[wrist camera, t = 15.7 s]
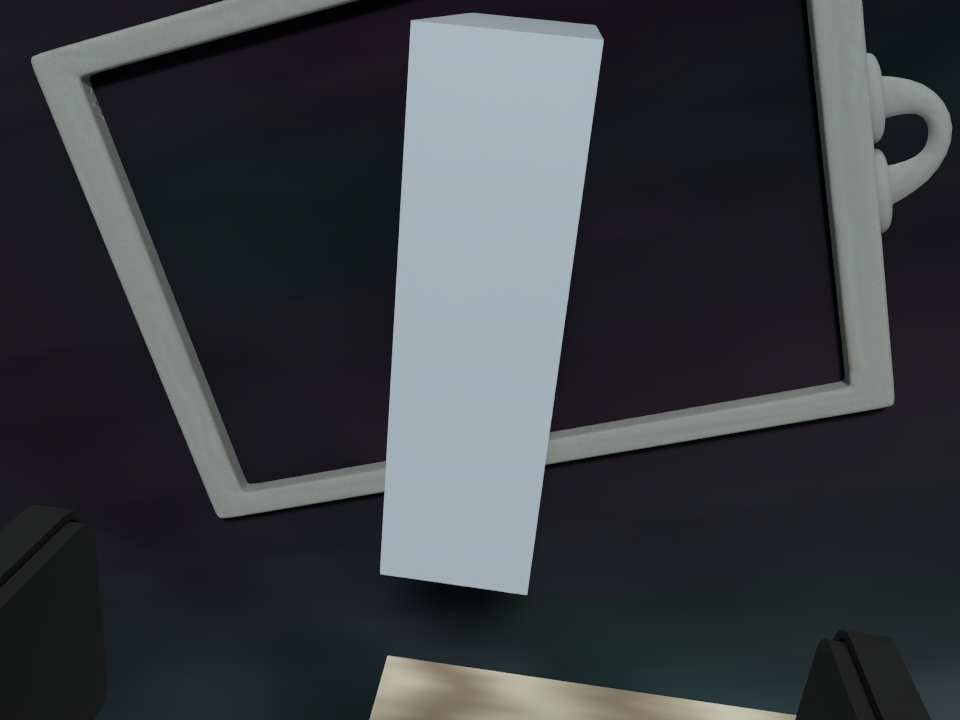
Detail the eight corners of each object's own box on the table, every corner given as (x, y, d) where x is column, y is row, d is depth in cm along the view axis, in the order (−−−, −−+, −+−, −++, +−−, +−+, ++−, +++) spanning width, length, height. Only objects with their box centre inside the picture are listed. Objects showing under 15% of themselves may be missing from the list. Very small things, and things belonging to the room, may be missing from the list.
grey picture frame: (24, 56, 30) (946, -208, 25) (50, 53, 32) (925, -196, 26) (216, 521, 37) (974, 394, 31) (230, 501, 38) (956, 376, 33)
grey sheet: (595, 25, 28) (603, 40, 18) (543, 414, 33) (527, 595, 23) (472, 12, 28) (411, 20, 18) (440, 401, 34) (380, 574, 24)
